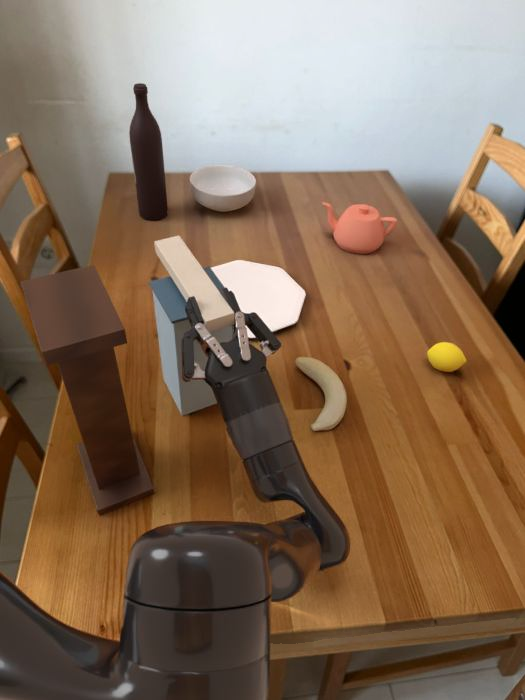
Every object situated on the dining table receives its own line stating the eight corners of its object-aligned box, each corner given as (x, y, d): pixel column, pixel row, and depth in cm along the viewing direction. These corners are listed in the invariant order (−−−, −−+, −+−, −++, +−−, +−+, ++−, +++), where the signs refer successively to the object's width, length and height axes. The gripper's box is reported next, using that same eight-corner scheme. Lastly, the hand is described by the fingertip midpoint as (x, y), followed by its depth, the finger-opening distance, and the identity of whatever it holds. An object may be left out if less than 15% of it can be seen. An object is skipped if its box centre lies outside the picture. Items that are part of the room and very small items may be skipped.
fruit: (331, 363, 94) (334, 350, 92) (354, 429, 84) (357, 416, 81) (293, 366, 93) (295, 353, 91) (311, 433, 83) (313, 420, 80)
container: (180, 417, 84) (171, 321, 69) (161, 378, 89) (148, 281, 75) (234, 398, 87) (236, 303, 72) (211, 361, 93) (209, 266, 78)
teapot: (389, 261, 119) (399, 225, 112) (313, 248, 121) (318, 212, 114) (391, 234, 127) (401, 199, 121) (320, 222, 129) (325, 187, 123)
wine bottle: (161, 204, 132) (148, 78, 111) (172, 217, 128) (162, 88, 107) (135, 210, 129) (117, 82, 108) (146, 223, 125) (130, 93, 104)
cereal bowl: (261, 218, 129) (262, 192, 124) (195, 223, 126) (194, 197, 121) (247, 186, 141) (248, 162, 136) (186, 190, 138) (185, 165, 133)
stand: (99, 515, 71) (41, 352, 48) (78, 449, 78) (20, 281, 56) (154, 493, 74) (124, 329, 51) (130, 431, 81) (94, 264, 59)
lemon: (421, 372, 94) (430, 351, 90) (423, 353, 98) (431, 332, 94) (461, 382, 93) (471, 361, 89) (461, 361, 96) (471, 341, 93)
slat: (206, 333, 66) (205, 321, 64) (155, 252, 78) (153, 241, 77) (234, 324, 67) (234, 312, 66) (180, 246, 80) (179, 235, 78)
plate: (220, 355, 94) (220, 350, 93) (169, 285, 108) (168, 279, 107) (325, 317, 103) (326, 311, 102) (265, 256, 117) (265, 251, 116)
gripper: (313, 391, 63) (262, 269, 67) (207, 430, 58) (156, 296, 62) (293, 403, 70) (247, 292, 74) (196, 440, 65) (152, 318, 68)
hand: (206, 295), depth 68 cm, fingers closed on slat, 4 cm apart
